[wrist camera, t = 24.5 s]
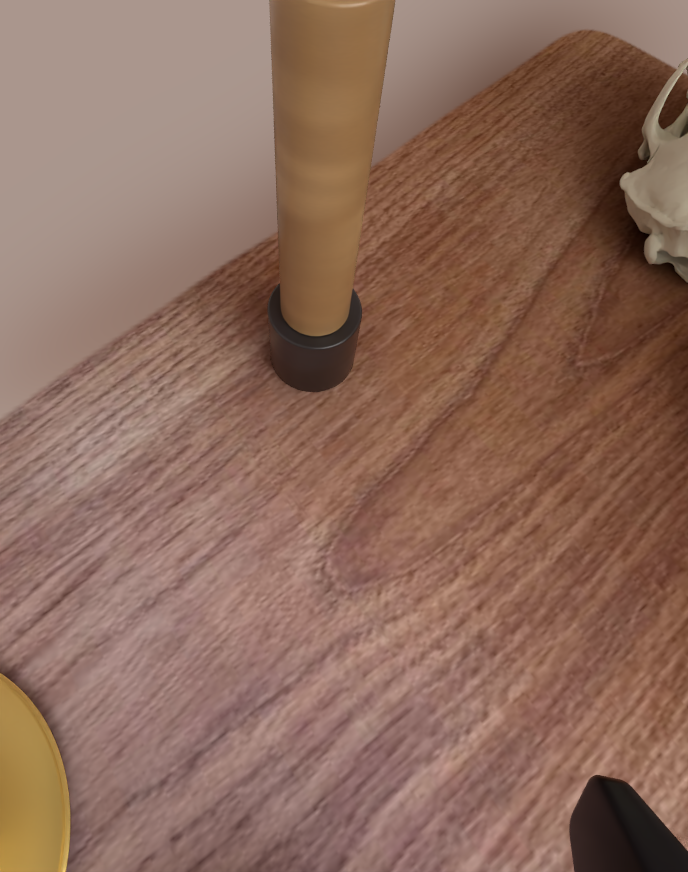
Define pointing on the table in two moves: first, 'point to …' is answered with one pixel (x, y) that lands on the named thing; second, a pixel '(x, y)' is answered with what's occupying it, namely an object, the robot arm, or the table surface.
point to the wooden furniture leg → (322, 177)
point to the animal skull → (662, 185)
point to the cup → (30, 789)
